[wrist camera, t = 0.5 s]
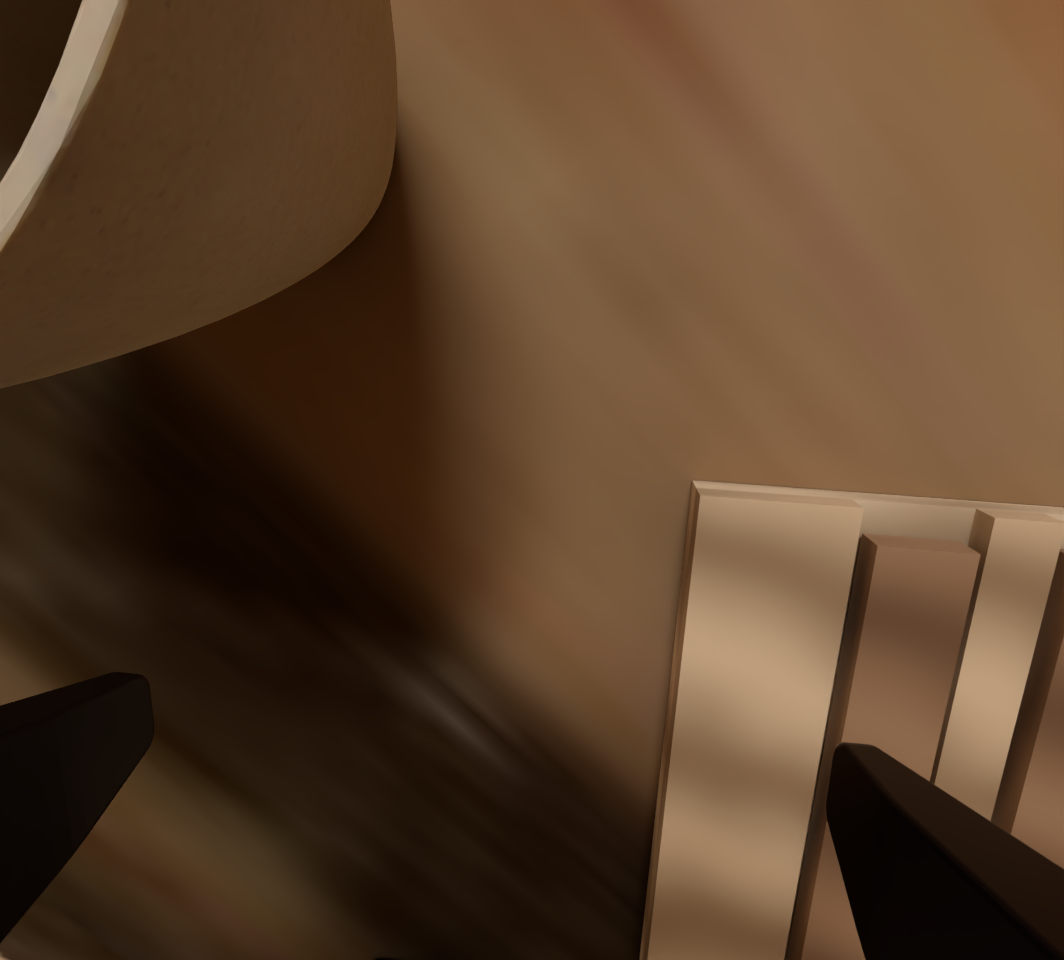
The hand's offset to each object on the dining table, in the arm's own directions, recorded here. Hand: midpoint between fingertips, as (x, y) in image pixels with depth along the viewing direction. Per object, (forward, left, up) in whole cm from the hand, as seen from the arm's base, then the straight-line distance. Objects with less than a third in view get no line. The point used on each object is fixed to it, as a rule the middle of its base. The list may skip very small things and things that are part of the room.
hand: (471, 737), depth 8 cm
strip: (-12, -11, -13) cm, 20 cm away
